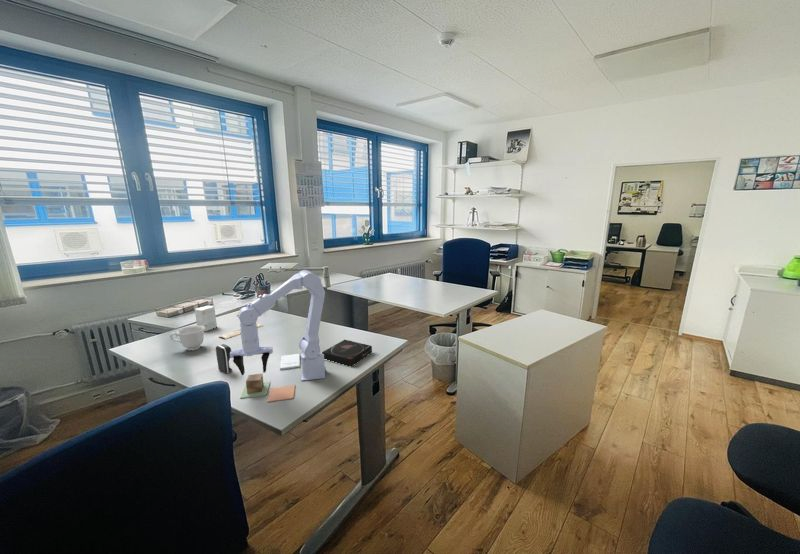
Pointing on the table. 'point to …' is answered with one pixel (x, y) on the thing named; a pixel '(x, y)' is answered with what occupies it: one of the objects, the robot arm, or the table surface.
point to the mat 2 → (281, 393)
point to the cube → (254, 383)
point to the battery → (223, 358)
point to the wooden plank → (237, 332)
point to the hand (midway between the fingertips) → (254, 372)
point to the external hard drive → (290, 361)
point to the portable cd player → (347, 352)
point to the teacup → (190, 337)
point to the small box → (206, 317)
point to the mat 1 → (264, 392)
